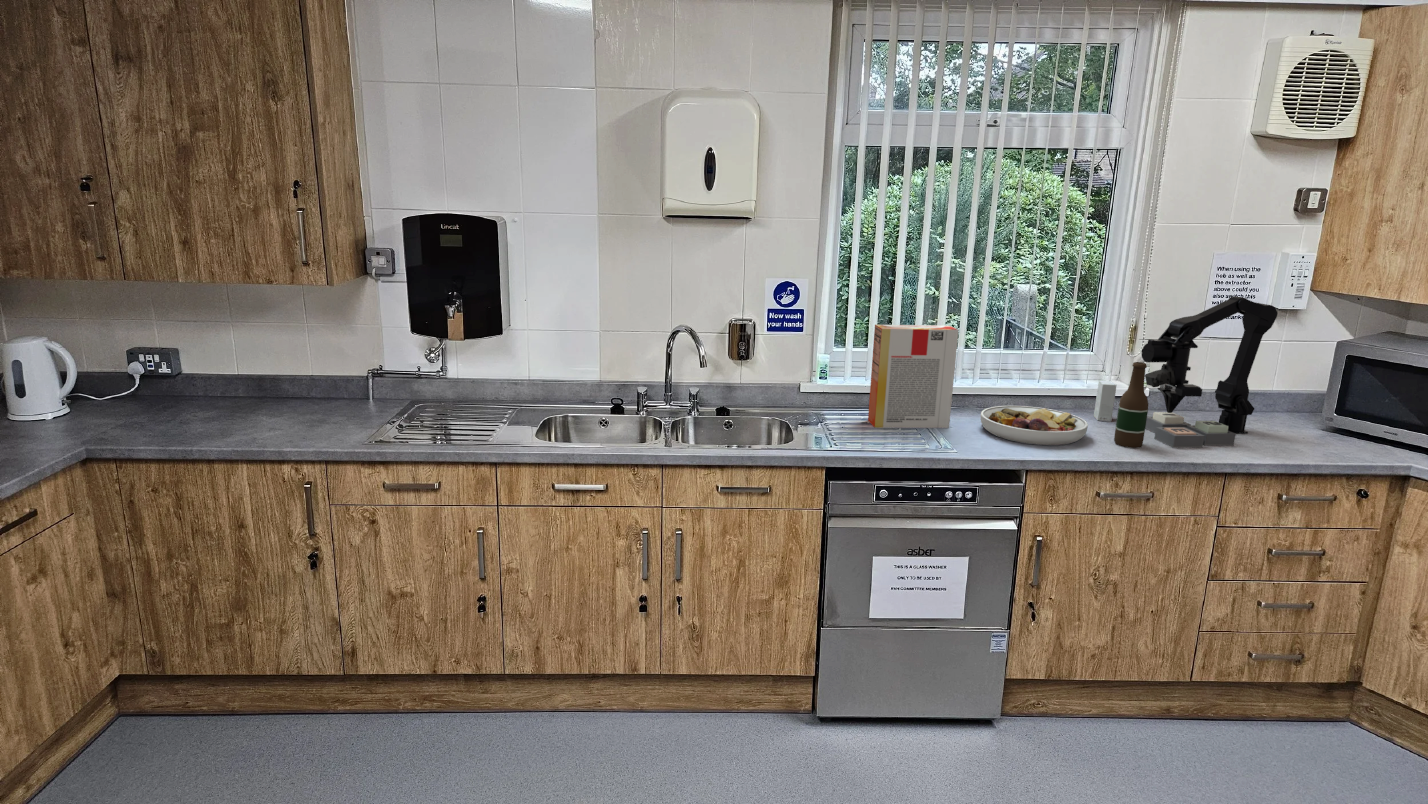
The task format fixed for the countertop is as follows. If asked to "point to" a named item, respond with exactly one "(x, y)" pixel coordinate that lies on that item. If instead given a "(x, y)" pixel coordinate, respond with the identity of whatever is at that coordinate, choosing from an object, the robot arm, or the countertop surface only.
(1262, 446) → the countertop surface
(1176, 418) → the tile
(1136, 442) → the beer bottle
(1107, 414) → the skincare box
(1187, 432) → the tile
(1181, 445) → the tile collars
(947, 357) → the pasta box
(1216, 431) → the tile
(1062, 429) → the bowl
